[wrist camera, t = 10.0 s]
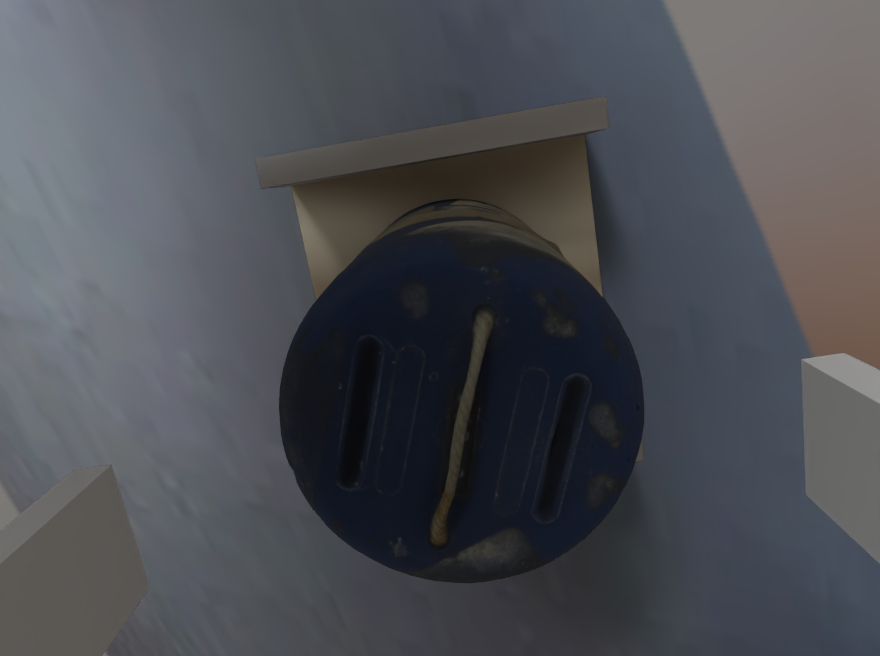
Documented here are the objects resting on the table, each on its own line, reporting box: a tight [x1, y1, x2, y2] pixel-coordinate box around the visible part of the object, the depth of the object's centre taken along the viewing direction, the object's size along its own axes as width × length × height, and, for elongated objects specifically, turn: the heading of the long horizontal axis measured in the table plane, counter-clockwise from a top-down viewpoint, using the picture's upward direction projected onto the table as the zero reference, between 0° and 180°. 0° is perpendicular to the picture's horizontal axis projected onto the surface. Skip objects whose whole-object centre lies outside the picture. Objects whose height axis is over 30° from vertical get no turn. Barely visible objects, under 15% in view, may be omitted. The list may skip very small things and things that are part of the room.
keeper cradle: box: [254, 96, 644, 462], centre depth 30 cm, size 15×14×6 cm
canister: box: [279, 199, 644, 583], centre depth 23 cm, size 10×10×18 cm
